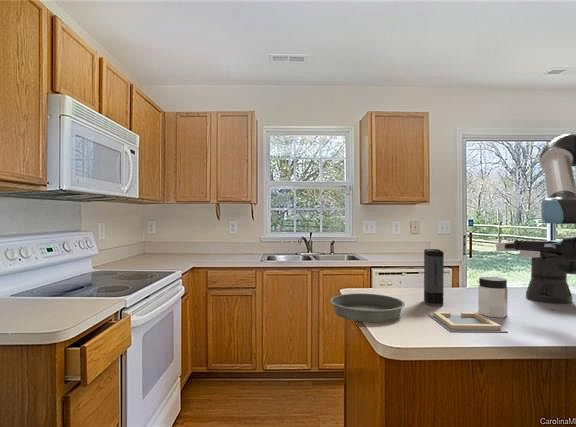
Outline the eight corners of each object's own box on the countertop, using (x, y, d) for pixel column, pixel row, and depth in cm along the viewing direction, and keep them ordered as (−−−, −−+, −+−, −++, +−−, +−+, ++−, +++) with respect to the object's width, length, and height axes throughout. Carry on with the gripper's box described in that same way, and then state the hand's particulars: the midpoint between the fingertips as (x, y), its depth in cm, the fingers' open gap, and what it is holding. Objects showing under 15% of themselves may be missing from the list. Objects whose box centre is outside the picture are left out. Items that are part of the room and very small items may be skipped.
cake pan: (321, 319, 122) (321, 305, 122) (339, 303, 145) (339, 291, 145) (401, 328, 113) (401, 312, 113) (407, 309, 136) (407, 296, 136)
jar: (482, 310, 135) (482, 275, 135) (509, 313, 129) (509, 278, 129) (475, 315, 128) (475, 278, 128) (503, 319, 123) (503, 281, 123)
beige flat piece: (477, 315, 127) (477, 311, 127) (507, 332, 109) (507, 327, 109) (428, 315, 127) (428, 310, 127) (450, 332, 109) (450, 326, 109)
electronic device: (444, 306, 140) (444, 251, 140) (427, 305, 141) (427, 251, 141) (439, 300, 149) (439, 249, 149) (423, 300, 150) (423, 248, 150)
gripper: (560, 254, 105) (486, 256, 123) (602, 267, 117) (529, 266, 135) (559, 227, 106) (486, 233, 124) (601, 242, 118) (529, 245, 136)
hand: (508, 250), depth 130 cm, fingers open, 13 cm apart
